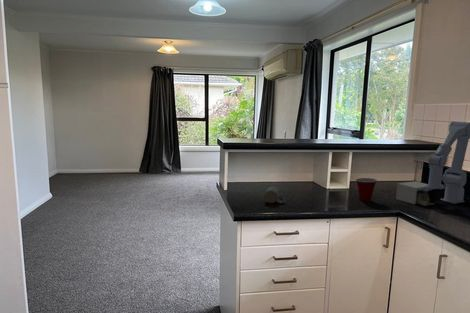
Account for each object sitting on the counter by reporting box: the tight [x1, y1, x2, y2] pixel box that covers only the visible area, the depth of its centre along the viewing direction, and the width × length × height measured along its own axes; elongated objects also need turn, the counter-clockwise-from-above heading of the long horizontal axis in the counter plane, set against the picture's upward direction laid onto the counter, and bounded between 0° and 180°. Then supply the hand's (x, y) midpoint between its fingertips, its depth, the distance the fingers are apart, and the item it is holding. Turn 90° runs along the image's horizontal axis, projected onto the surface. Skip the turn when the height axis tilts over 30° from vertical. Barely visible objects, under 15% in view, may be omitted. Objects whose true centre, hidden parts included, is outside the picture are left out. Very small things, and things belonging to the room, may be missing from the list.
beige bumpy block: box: [416, 190, 436, 206], centre depth 175 cm, size 8×10×6 cm
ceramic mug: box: [263, 186, 286, 204], centre depth 169 cm, size 11×8×8 cm
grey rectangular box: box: [395, 181, 429, 205], centre depth 178 cm, size 15×11×9 cm
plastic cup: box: [355, 177, 378, 203], centre depth 176 cm, size 11×11×12 cm
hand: (432, 202), depth 169 cm, fingers closed
